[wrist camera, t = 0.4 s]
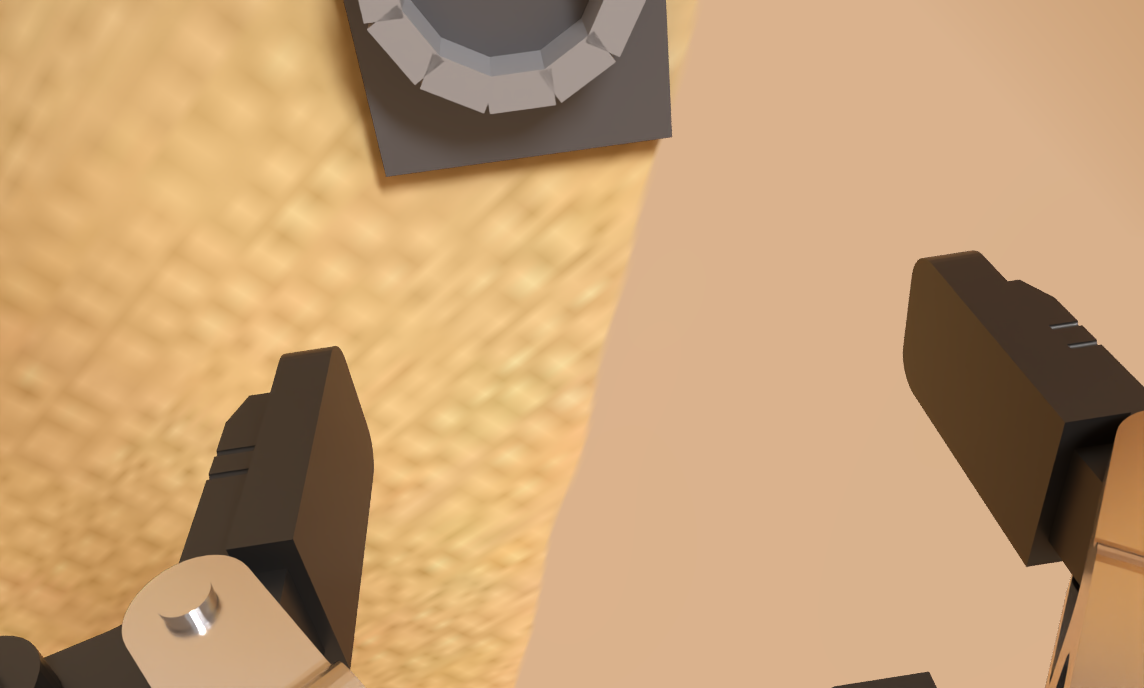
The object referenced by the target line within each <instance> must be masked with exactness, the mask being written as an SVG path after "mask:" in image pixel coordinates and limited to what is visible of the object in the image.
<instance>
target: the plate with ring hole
mask: <svg viewBox="0 0 1144 688" xmlns="http://www.w3.org/2000/svg"><path fill="white" fill-rule="evenodd" d="M344 4H345V8H346V12H347V17H348V21H349V25H350V29H351V33H352V37H353V41H354V45H355V50H356V54H357V58H358V62H359V66H360V70H361V74H362V79H363V83H364V87H365V91H366V95H367V99H368V103H369V107H370V112H371V116H372V120H373V124H374V128H375V132H376V136H377V141H378V145H379V149H380V153H381V157H382V161H383V165H384V169H385V174H386V177H388V176H395V175H402V174H409V173H417V172H424V171H431V170H438V169H445V168H453V167H460V166H467V165H474V164H481V163H489V162H496V161H503V160H510V159H517V158H525V157H532V156H539V155H546V154H554V153H561V152H568V151H575V150H582V149H590V148H597V147H604V146H611V145H618V144H626V143H633V142H640V141H647V140H654V139H662V138H669V137H672V126H671V104H670V81H669V59H668V37H667V15H666V0H344Z"/></svg>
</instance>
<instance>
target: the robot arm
mask: <svg viewBox="0 0 1144 688" xmlns="http://www.w3.org/2000/svg"><path fill="white" fill-rule="evenodd" d="M903 362H904V369H905V374H906V377H907V381H908V383H909V386H910V388H911V391H912V392H913V394H914V395H915V397H916V399H917V400H918V402H919V403H920V405H921V406H922V408H923V409H924V411H925V412H926V414H927V415H928V417H929V418H930V420H931V422H932V423H933V424H934V426H935V428H936V429H937V431H938V432H939V434H940V435H941V437H942V438H943V440H944V441H945V443H946V444H947V446H948V447H949V449H950V451H951V452H952V453H953V455H954V457H955V458H956V459H957V461H958V463H959V464H960V466H961V467H962V469H963V470H964V472H965V473H966V475H967V477H968V478H969V480H970V481H971V483H972V484H973V486H974V487H975V489H976V490H977V492H978V493H979V495H980V496H981V498H982V500H983V501H984V503H985V504H986V506H987V507H988V509H989V510H990V512H991V513H992V515H993V516H994V518H995V519H996V521H997V522H998V524H999V526H1000V527H1001V529H1002V530H1003V532H1004V533H1005V535H1006V536H1007V537H1008V539H1009V541H1010V542H1011V544H1012V545H1013V547H1014V548H1015V550H1016V551H1017V553H1018V554H1019V556H1020V558H1021V559H1022V561H1023V562H1024V564H1025V565H1026V567H1028V566H1035V565H1041V564H1047V563H1054V562H1060V561H1063V562H1064V564H1065V565H1066V566H1067V568H1068V569H1069V571H1070V572H1071V574H1072V576H1071V579H1070V582H1069V585H1068V588H1067V591H1066V596H1065V600H1064V605H1063V610H1062V614H1061V618H1060V623H1059V627H1058V632H1057V636H1056V641H1055V645H1054V650H1053V654H1052V659H1051V663H1050V668H1049V672H1048V676H1047V681H1046V685H1045V688H1144V387H1143V386H1142V385H1141V384H1140V383H1139V382H1138V381H1137V380H1136V379H1135V378H1134V377H1133V376H1132V375H1131V374H1130V373H1129V372H1128V371H1127V370H1126V369H1125V368H1124V367H1123V366H1122V365H1121V364H1120V363H1119V362H1118V361H1117V360H1116V359H1115V358H1114V357H1113V356H1112V355H1111V354H1110V353H1109V352H1108V351H1107V350H1106V349H1105V348H1104V347H1103V346H1102V345H1097V340H1096V339H1095V338H1094V337H1093V336H1092V335H1091V334H1090V333H1089V332H1088V331H1087V330H1086V329H1085V328H1084V327H1083V326H1078V321H1077V320H1076V319H1075V318H1074V317H1073V316H1072V315H1071V314H1070V313H1069V312H1068V311H1067V310H1066V309H1065V308H1064V307H1063V306H1062V305H1061V304H1060V303H1059V302H1058V301H1057V300H1056V299H1055V298H1054V297H1052V296H1050V295H1048V294H1046V293H1044V292H1042V291H1041V290H1039V289H1037V288H1035V287H1033V286H1031V285H1029V284H1027V283H1025V282H1023V281H1021V280H1014V281H1007V280H1006V279H1005V278H1004V277H1003V276H1002V275H1001V274H1000V273H999V272H998V271H997V270H996V269H995V268H994V267H993V266H992V264H991V263H990V262H989V261H988V260H987V259H986V258H985V257H984V256H983V255H982V254H981V253H979V252H978V251H967V252H960V253H954V254H947V255H940V256H934V257H927V258H921V259H919V260H918V261H917V263H916V264H915V266H914V269H913V273H912V280H911V289H910V297H909V304H908V313H907V321H906V330H905V337H904V346H903ZM373 473H374V459H373V449H372V443H371V438H370V433H369V430H368V426H367V423H366V420H365V417H364V414H363V411H362V408H361V405H360V402H359V399H358V396H357V393H356V390H355V387H354V384H353V381H352V378H351V375H350V372H349V369H348V366H347V363H346V360H345V357H344V355H343V353H342V351H341V349H340V348H339V347H337V346H333V347H327V348H320V349H314V350H307V351H301V352H294V353H287V354H283V355H282V356H281V358H280V360H279V364H278V367H277V371H276V374H275V378H274V381H273V385H272V388H271V392H270V393H264V394H258V395H251V396H249V397H248V398H247V399H246V400H245V401H244V403H243V404H242V405H241V406H240V407H239V408H238V409H237V411H236V412H235V413H234V414H233V415H232V416H231V418H230V419H229V420H228V421H227V422H226V424H225V427H224V430H223V433H222V436H221V439H220V442H219V445H218V448H217V456H216V457H214V460H213V463H212V466H211V469H210V472H209V480H207V481H206V484H205V487H204V490H203V493H202V496H201V499H200V502H199V505H198V508H197V511H196V514H195V517H194V520H193V523H192V526H191V529H190V532H189V535H188V538H187V541H186V544H185V546H184V549H183V552H182V555H181V558H180V561H179V564H176V565H174V566H172V567H171V568H169V569H167V570H165V571H163V572H162V573H161V574H159V575H158V576H156V577H155V578H154V579H152V580H151V581H150V582H149V583H148V584H147V585H145V586H144V587H143V589H142V590H141V591H140V592H139V593H138V594H137V595H136V597H135V598H134V599H133V601H132V602H131V604H130V605H129V607H128V609H127V611H126V613H125V616H124V619H123V624H122V625H120V626H118V627H116V628H114V629H112V630H110V631H108V632H106V633H103V634H101V635H98V636H96V637H93V638H91V639H89V640H86V641H84V642H81V643H79V644H76V645H74V646H72V647H69V648H67V649H64V650H62V651H59V652H57V653H55V654H52V655H50V656H47V657H45V658H43V656H42V655H41V654H40V653H39V651H38V650H37V649H36V647H35V646H34V645H33V644H32V643H31V642H29V641H27V640H25V639H23V638H20V637H15V636H0V688H365V686H364V685H363V684H362V683H361V682H360V681H359V679H358V678H357V677H356V676H355V675H354V674H353V673H352V672H351V670H350V667H351V658H352V650H353V642H354V633H355V625H356V616H357V608H358V600H359V591H360V583H361V575H362V566H363V558H364V550H365V541H366V533H367V524H368V516H369V508H370V499H371V491H372V483H373ZM833 688H937V687H936V685H935V683H934V681H933V679H932V677H931V675H930V673H929V672H924V673H917V674H911V675H904V676H898V677H892V678H886V679H879V680H873V681H866V682H860V683H854V684H848V685H842V686H835V687H833Z"/></svg>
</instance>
